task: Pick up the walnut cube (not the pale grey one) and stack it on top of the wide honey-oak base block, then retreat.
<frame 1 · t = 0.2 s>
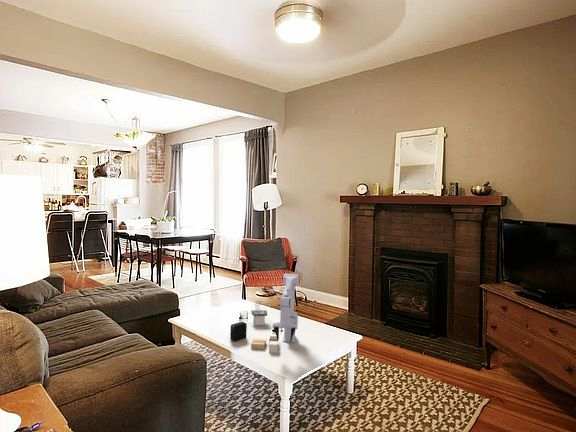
hand: (284, 340, 212), 10 cm above the table, fingers open, 7 cm apart
electronic device: (238, 339, 237), on the table
grey cube: (273, 350, 220), on the table
oil diffuser: (258, 324, 267), on the table
walnut cube: (273, 345, 228), on the table
oak base: (258, 346, 226), on the table
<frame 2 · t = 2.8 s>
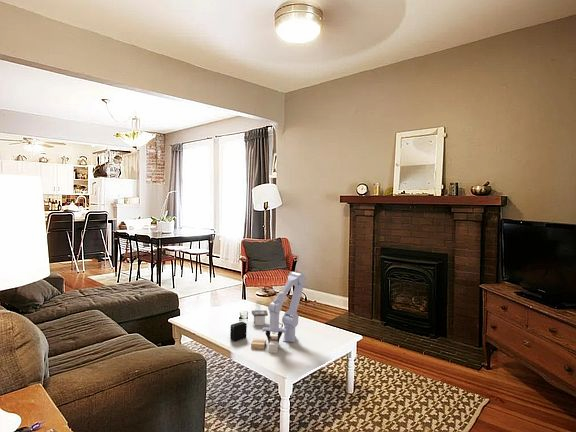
hand: (273, 343, 228), 1 cm above the table, fingers closed on walnut cube, 5 cm apart
walnut cube: (273, 345, 228), on the table, touching gripper
everything else where it was.
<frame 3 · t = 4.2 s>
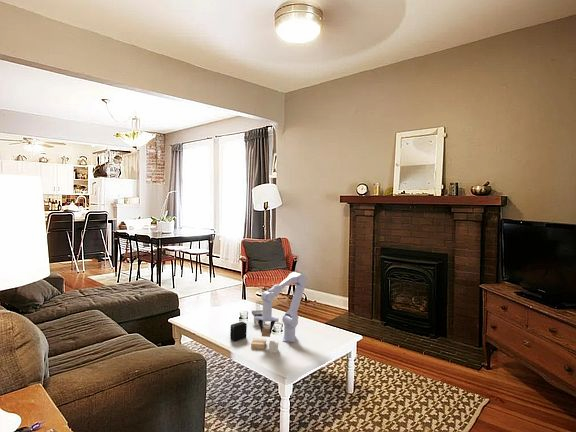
hand: (266, 332, 227), 9 cm above the table, fingers closed on walnut cube, 5 cm apart
walnut cube: (266, 335, 227), point 7 cm above the table, touching gripper
everything else where it was.
when the fingers open (5 cm above the table, at t = 5.9 s): walnut cube stays where it is, resting on oak base.
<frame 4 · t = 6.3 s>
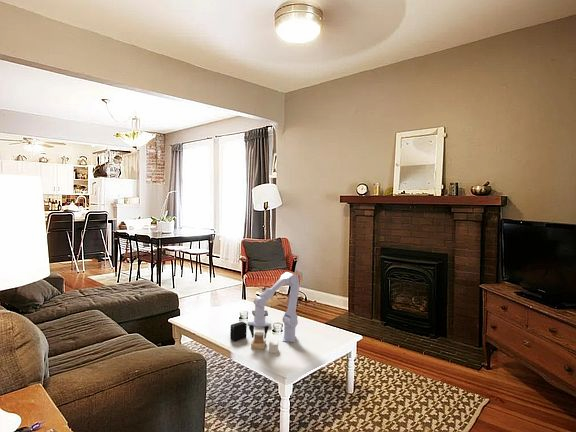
hand: (258, 337, 226), 5 cm above the table, fingers open, 7 cm apart
walnut cube: (258, 341, 226), point 3 cm above the table, touching oak base
everything else where it was.
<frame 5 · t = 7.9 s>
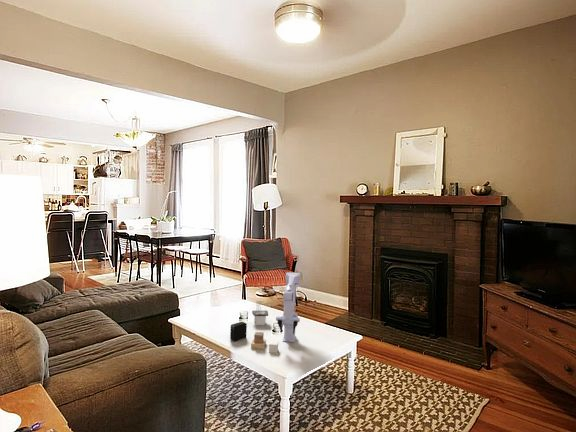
hand: (287, 332, 224), 10 cm above the table, fingers open, 7 cm apart
nothing on the table moved.
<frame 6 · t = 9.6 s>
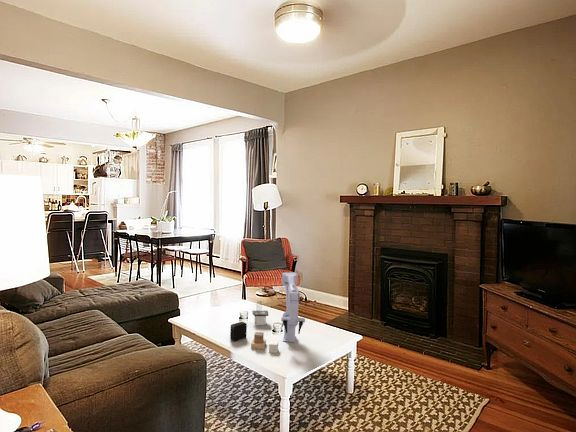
hand: (292, 332, 224), 10 cm above the table, fingers open, 7 cm apart
nothing on the table moved.
at the end: walnut cube inside the target area on the oak base (0.1 cm from its centre), point 3.0 cm above the oak base's base; walnut cube tilted 0°; the gripper is holding nothing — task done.
